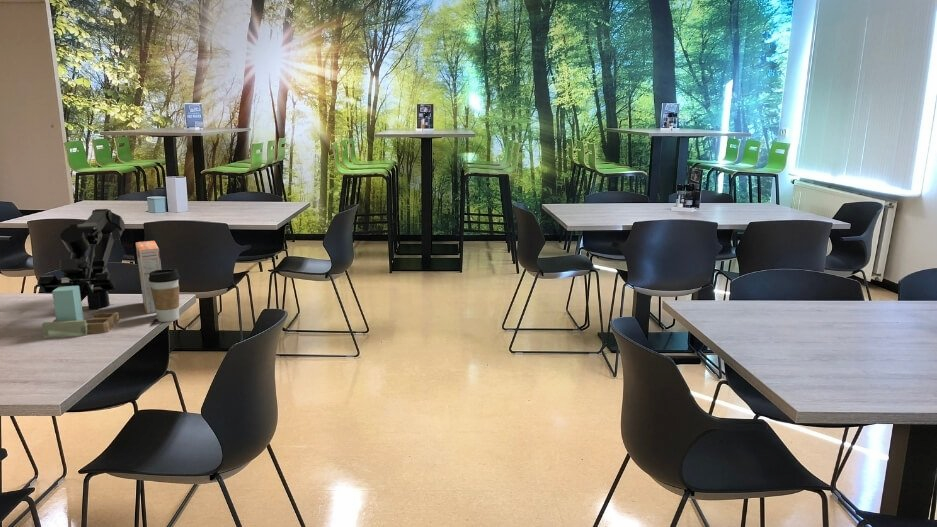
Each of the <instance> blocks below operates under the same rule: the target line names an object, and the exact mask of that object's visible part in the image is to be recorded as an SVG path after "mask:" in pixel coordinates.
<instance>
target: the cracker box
mask: <svg viewBox="0 0 937 527" xmlns="http://www.w3.org/2000/svg"><path fill="white" fill-rule="evenodd" d="M135 250H136V257H137V266H138V272H139V280H140V289H141V296H142V303H143V304H142V305H143V308H144V311H145V313H146V314H151V313H153V314H154V313H156V309H155V305H154V300H153V296H152V291H151V283H150V282H149V273H150V272H152V271H155V270H162V264H161V257H160V256H161V255H160V248H159V247H158V245H157V243H156V241H155V240H148V241H145V240H144V241H138V242H135Z"/></svg>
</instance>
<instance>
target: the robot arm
mask: <svg viewBox="0 0 937 527" xmlns="http://www.w3.org/2000/svg"><path fill="white" fill-rule="evenodd" d="M91 212H92V213H91V214H90V216H89V217H88V218H87V219H86V220H85V222H84V223H79V224H78V223H70V224H69V227H67V228H64V229H63V230H62V231H61V233H60V236H59V238H60V240H61V241H62V243H63V244H64V246H65V248H66V249H67V251H68V253H71V254H70V258H66V259H65V258H64V259H59V271H60V272H63V274H62V275H63V277H61V278H60V279H58V278H57V276H56V275H54V274H52V275H50V274H49V275H41V276H39V277H38V278H37V286H38V287H40V289H41V291H43V293H45V294H52V291H53V290H55V289H56V288H58V287H61V286H79V289H80V297H81V303H82V302H83V300H84V299H87V306H88V310H89V311H90V310H92V311H95V310H96V311H97V310H100V309H104V308H108V307H110V306H113V305H115V304H111V302H110V294H109V292H111V291H114V290H115V289H116V284H117V283H116V281H115V279H114V277H113V275H112V274H111V273H110V272H109V269H108V267H107V266H108V262H109V259H110V255H111V252H112V248H113V245H114V241H116V240H118V239H120V238H121V237H122V235H123V232H124V231H125V227H126V226H125V221H124V220H123V218H122V216H121V215H119V214H117V213H114V212H112V210H111V209H108V208H95V209H93V210H92V211H91ZM93 245H94V246H93Z"/></svg>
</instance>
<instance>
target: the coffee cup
mask: <svg viewBox="0 0 937 527" xmlns="http://www.w3.org/2000/svg"><path fill="white" fill-rule="evenodd" d="M179 279H180V274H179V271H178V269H177V268H163V269H162V268H161V270H155V271H152V272H150V273H149V282H150V283H151V291H152V296H153V300H154V305H155V309H156V312H155V313H156V319H157V321H158V322H161V323H162V322H163V323H168V322H169V323H170V322H173V321H177V320H178V319H180V284H179Z"/></svg>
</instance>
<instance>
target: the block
mask: <svg viewBox="0 0 937 527" xmlns="http://www.w3.org/2000/svg"><path fill="white" fill-rule="evenodd" d="M51 294H52V300H53V307H54V314H55V319H56V321H57V322H60V321H77V320H85V319H84V313H83V305H82V304H83V303H82V302H81V297H80V289H79V286H61V287H58V288H56V289H55V290H53V291H52V293H51Z"/></svg>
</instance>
